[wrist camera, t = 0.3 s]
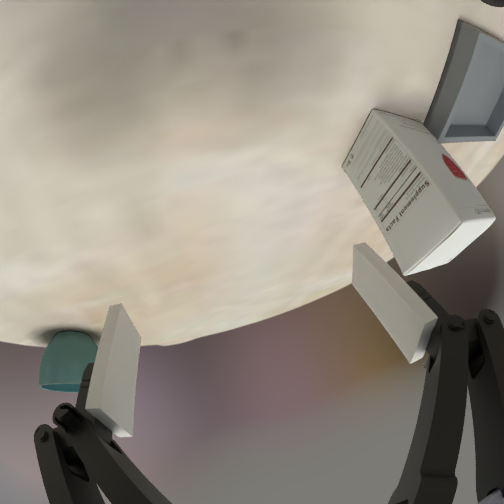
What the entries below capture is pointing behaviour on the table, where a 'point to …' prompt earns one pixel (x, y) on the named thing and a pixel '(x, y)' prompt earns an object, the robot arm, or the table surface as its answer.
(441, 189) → the supplement box
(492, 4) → the casserole
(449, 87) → the tray
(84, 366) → the plant pot
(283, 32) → the table surface
